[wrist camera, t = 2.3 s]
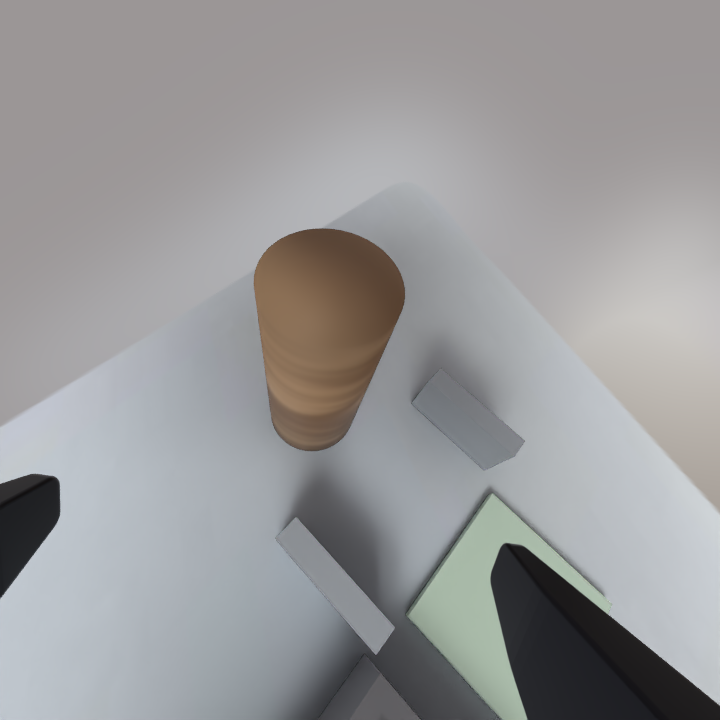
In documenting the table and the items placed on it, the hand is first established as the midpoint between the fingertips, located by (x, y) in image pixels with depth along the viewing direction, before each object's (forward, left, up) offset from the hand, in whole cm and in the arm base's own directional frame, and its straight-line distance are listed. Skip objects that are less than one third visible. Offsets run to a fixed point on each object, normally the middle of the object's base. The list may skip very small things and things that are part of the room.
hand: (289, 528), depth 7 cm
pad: (+6, -10, -13) cm, 18 cm away
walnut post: (+6, +5, -13) cm, 15 cm away
